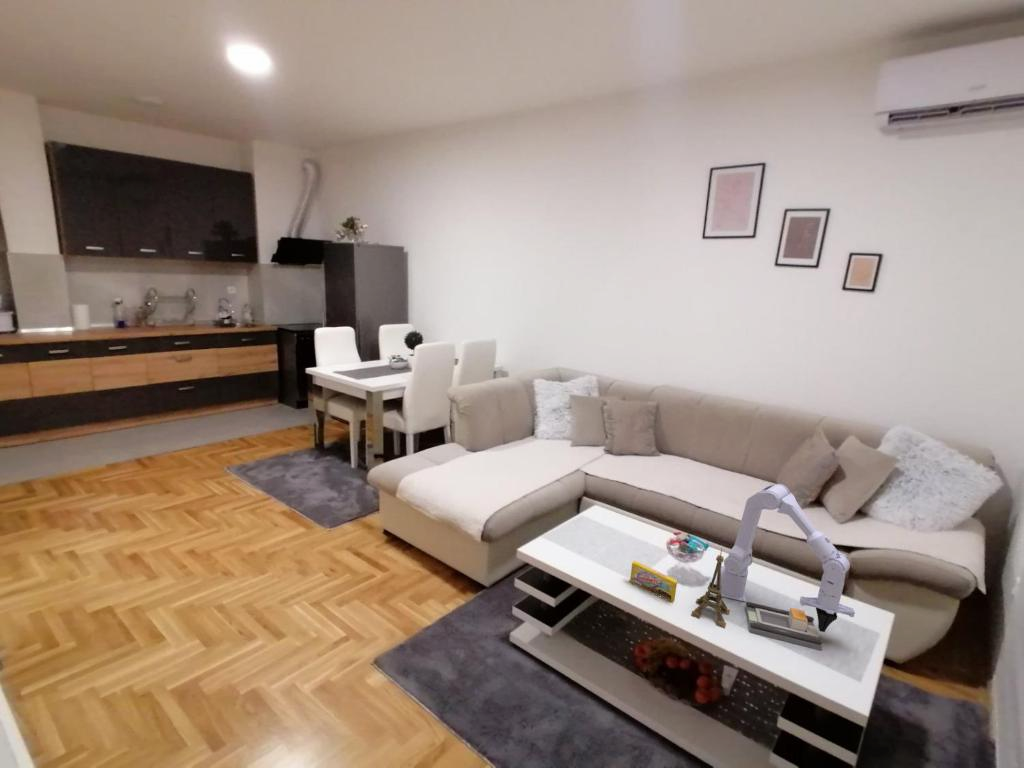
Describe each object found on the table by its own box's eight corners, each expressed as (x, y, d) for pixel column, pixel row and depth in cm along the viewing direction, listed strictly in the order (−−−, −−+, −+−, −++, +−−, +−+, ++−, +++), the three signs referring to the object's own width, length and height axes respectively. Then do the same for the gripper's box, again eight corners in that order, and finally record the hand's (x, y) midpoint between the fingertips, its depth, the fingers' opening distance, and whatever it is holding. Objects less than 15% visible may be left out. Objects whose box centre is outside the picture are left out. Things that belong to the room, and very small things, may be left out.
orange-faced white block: (790, 629, 161) (793, 617, 160) (787, 619, 165) (790, 607, 164) (804, 633, 160) (807, 620, 158) (801, 623, 164) (804, 610, 163)
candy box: (629, 582, 183) (631, 562, 181) (631, 580, 184) (634, 559, 182) (672, 603, 172) (675, 582, 171) (674, 601, 174) (678, 579, 172)
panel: (749, 632, 161) (750, 624, 160) (744, 607, 173) (746, 599, 172) (821, 650, 155) (823, 642, 154) (811, 623, 167) (813, 615, 166)
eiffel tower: (729, 610, 171) (742, 543, 165) (724, 628, 162) (737, 558, 156) (697, 599, 176) (708, 533, 170) (690, 615, 167) (702, 547, 161)
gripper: (806, 593, 155) (798, 631, 159) (861, 605, 151) (851, 644, 154) (802, 580, 162) (793, 617, 165) (854, 591, 158) (844, 629, 161)
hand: (821, 629), depth 160 cm, fingers closed
